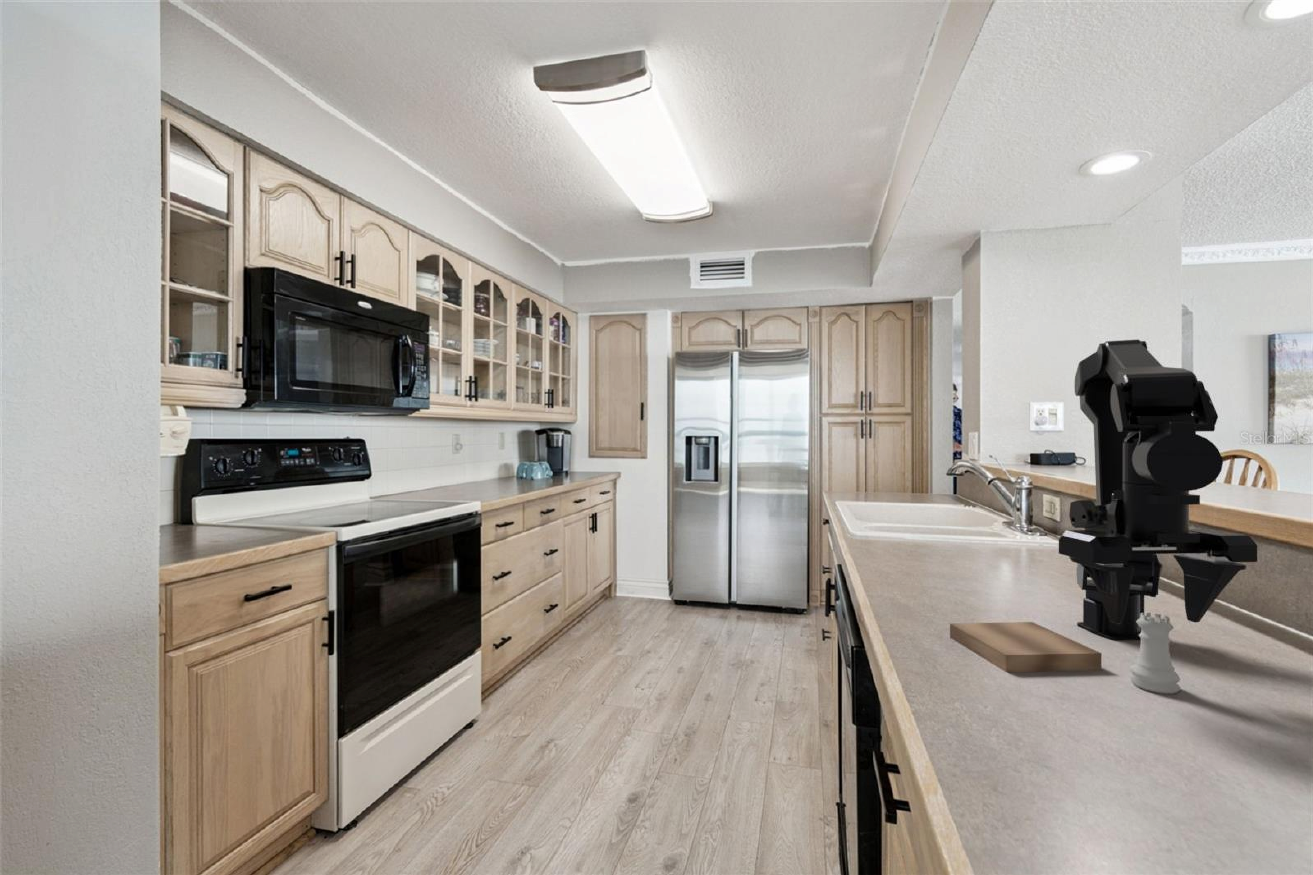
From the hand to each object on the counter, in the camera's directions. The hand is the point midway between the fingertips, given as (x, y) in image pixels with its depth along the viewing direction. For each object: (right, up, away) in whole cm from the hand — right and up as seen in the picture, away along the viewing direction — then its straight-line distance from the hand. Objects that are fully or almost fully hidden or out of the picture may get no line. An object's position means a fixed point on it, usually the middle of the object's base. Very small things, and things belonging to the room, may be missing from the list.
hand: (1154, 622), depth 66 cm
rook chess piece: (0, -7, 0) cm, 7 cm away
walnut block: (-9, -8, +10) cm, 16 cm away
